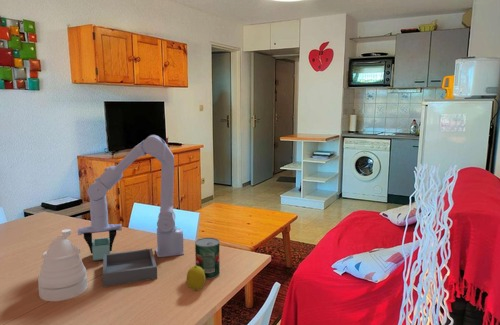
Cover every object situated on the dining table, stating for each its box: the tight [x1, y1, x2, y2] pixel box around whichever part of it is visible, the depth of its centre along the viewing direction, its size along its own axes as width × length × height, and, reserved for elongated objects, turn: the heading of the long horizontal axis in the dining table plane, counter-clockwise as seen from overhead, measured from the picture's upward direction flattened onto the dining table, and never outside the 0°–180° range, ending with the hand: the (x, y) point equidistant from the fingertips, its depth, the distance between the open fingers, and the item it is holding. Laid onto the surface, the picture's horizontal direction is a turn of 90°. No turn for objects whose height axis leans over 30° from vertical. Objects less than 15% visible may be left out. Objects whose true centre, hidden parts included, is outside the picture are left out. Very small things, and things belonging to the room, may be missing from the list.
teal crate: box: [91, 237, 111, 261], centre depth 134 cm, size 6×8×5 cm
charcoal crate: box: [102, 248, 158, 288], centre depth 122 cm, size 16×16×4 cm
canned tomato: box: [194, 237, 221, 280], centre depth 120 cm, size 8×8×11 cm
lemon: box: [186, 264, 206, 292], centre depth 109 cm, size 6×6×8 cm
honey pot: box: [37, 228, 88, 302], centre depth 109 cm, size 13×13×18 cm
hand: (101, 251), depth 134 cm, fingers closed on teal crate, 6 cm apart
